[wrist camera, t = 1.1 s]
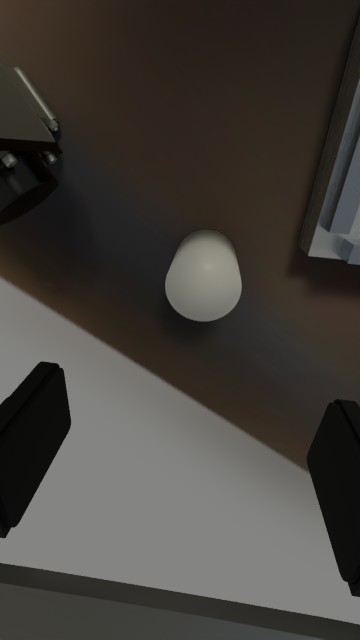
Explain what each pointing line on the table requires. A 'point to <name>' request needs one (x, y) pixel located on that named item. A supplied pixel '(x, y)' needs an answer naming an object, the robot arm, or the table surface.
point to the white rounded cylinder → (204, 276)
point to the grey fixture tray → (338, 176)
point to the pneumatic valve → (24, 145)
